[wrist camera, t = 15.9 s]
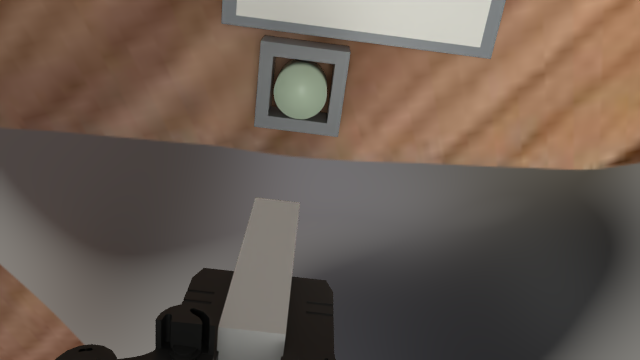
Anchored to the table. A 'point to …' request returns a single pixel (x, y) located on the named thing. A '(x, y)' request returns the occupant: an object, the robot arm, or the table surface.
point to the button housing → (310, 52)
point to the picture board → (380, 21)
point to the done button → (301, 89)
